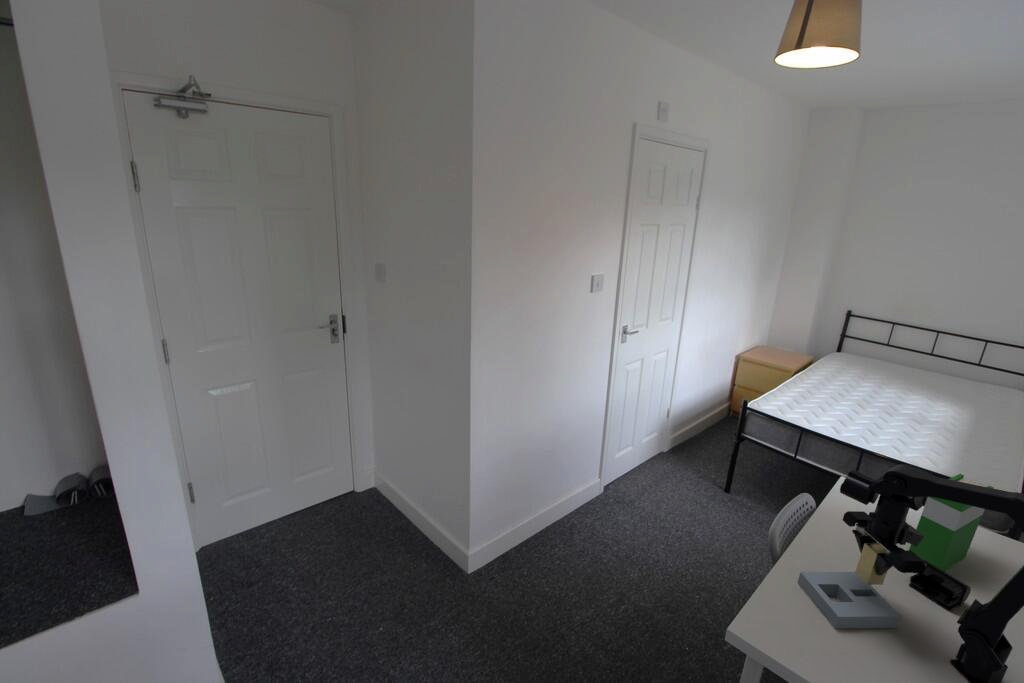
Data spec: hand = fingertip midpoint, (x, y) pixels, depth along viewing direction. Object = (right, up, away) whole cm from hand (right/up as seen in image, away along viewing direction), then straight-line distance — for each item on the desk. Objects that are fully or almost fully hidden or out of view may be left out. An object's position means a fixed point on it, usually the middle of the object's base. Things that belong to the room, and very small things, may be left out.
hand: (872, 568), depth 117 cm
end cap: (+23, -11, +8) cm, 26 cm away
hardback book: (+35, -7, +21) cm, 41 cm away
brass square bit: (0, -3, +1) cm, 3 cm away
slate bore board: (-5, -10, +3) cm, 12 cm away
